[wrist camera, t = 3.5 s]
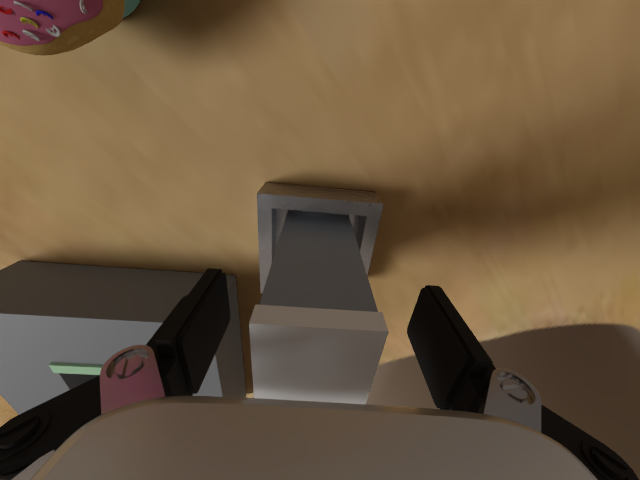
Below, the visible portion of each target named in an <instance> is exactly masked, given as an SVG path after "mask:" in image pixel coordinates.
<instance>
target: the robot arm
mask: <svg viewBox="0 0 640 480" xmlns="http://www.w3.org/2000/svg"><path fill="white" fill-rule="evenodd" d="M229 322H230V306H229V297H228V288H227V279H226V273H222V270H221V269H210V268H209V269H207V270H206V271H205V273H204V274H203V275H202V277H201V278H200V279H199V281H198V282H197V283H196V285H195V286H194V287H193V289H192V290H191V291H190V293H189V294H188V295H187V296H184V297H183V298H182V299H181V300H180V301H179V302H178V304H177V305H176V306H175V308H174V309H173V310H172V311H171V313H170V314H169V315H168V317H167V318H166V319H165V321H164V322H163V323H162V324H161V326H160V327H159V328H158V330H157V331H156V332H155V334H154V335H153V336H152V337H151V339H150V340H149V341H148V343H147V344H146V345H134V346H130V347H127V348H125V349H123V350H121V351H119V352H117V353H116V354H114V355H113V356H111V357H110V358H109V359H108V360H107V361H106V362H105V363H104V365H103V367H102V368H101V371H100V375H99V376H97V377H95V378H93V379H91V380H89V381H87V382H85V383H83V384H81V385H79V386H77V387H75V388H73V389H71V390H68V391H66V392H64V393H62V394H60V395H58V396H56V397H54V398H52V399H50V400H48V401H46V402H44V403H42V404H40V405H38V406H36V407H33V408H31V409H29V410H27V411H25V412H23V413H21V414H20V415H18V416H16V417H14V418H12V419H11V420H9V421H8V422H7V423H5V424H4V425H3V426H1V427H0V480H639V479H638V477H637V476H636V474H635V473H634V471H633V470H632V469H631V468H630V467H629V465H628V464H627V463H626V462H625V461H624V460H623V459H622V458H621V457H620V456H619V455H617V454H616V453H615V452H614V451H613V450H611V449H610V448H609V447H607V446H606V445H604V444H603V443H601V442H600V441H598V440H597V439H595V438H593V437H592V436H590V435H588V434H587V433H586V432H584V431H582V430H581V429H579V428H578V427H576V426H574V425H573V424H571V423H570V422H568V421H566V420H565V419H563V418H562V417H560V416H559V415H557V414H556V413H554V412H552V411H551V410H549V409H548V408H546V407H545V406H543V405H541V399H540V396H539V394H538V392H537V391H536V389H535V388H534V387H533V386H532V385H531V383H529V382H528V381H527V380H526V379H525V378H523V377H522V376H520V375H519V374H517V373H515V372H513V371H511V370H508V369H504V368H498V369H496V368H495V367H494V365H493V364H492V363H493V362H492V361H491V359H490V357H489V356H488V355H487V353H486V352H485V350H484V349H483V347H482V346H481V345H480V343H479V342H478V340H477V339H476V337H475V336H474V334H473V333H472V332H471V330H470V329H469V327H468V326H467V324H466V323H465V321H464V320H463V319H462V317H461V316H460V314H459V313H458V311H457V310H456V309H455V307H454V306H453V304H452V303H451V301H450V300H449V298H448V297H447V296H446V294H445V293H444V291H443V290H442V288H441V287H439V286H430V285H427V286H425V288H422V289H421V291H420V294H419V297H418V300H417V303H416V305H415V308H414V311H413V314H412V317H411V319H410V322H409V325H408V328H407V334H408V337H409V340H410V342H411V345H412V347H413V350H414V352H415V355H416V357H417V360H418V362H419V365H420V367H421V370H422V373H423V375H424V378H425V380H426V383H427V385H428V388H429V390H430V393H431V396H432V398H433V401H434V403H435V405H436V407H437V408H440V409H428V408H414V407H398V406H383V405H382V406H381V405H366V404H350V403H333V402H316V401H298V400H279V399H260V398H241V397H216V396H192V395H193V394H196V393H198V391H199V389H200V387H201V385H202V383H203V380H204V378H205V376H206V374H207V371H208V369H209V367H210V365H211V362H212V360H213V358H214V356H215V354H216V351H217V349H218V347H219V345H220V342H221V340H222V338H223V336H224V333H225V331H226V329H227V327H228V324H229Z"/></svg>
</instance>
